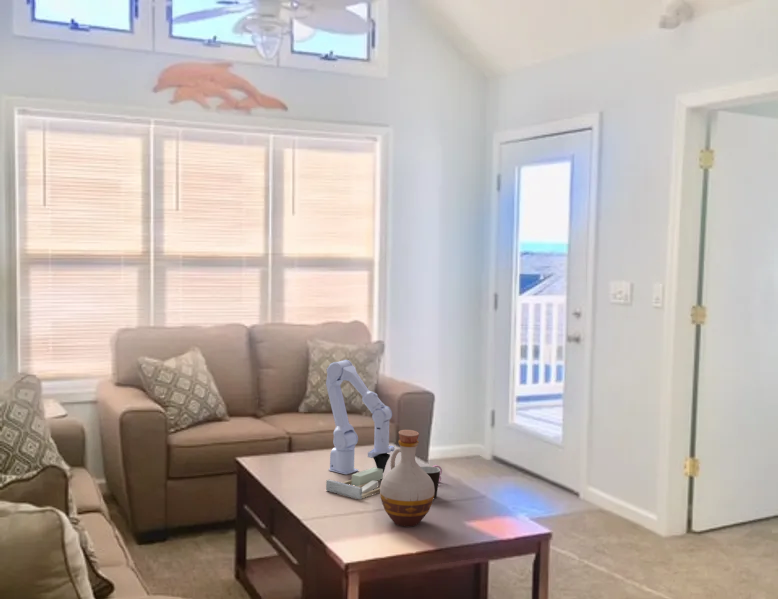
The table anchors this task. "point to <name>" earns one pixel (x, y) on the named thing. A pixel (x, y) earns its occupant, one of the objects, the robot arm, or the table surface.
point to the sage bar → (367, 476)
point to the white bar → (369, 486)
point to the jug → (407, 485)
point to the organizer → (348, 489)
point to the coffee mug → (433, 476)
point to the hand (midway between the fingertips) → (380, 472)
